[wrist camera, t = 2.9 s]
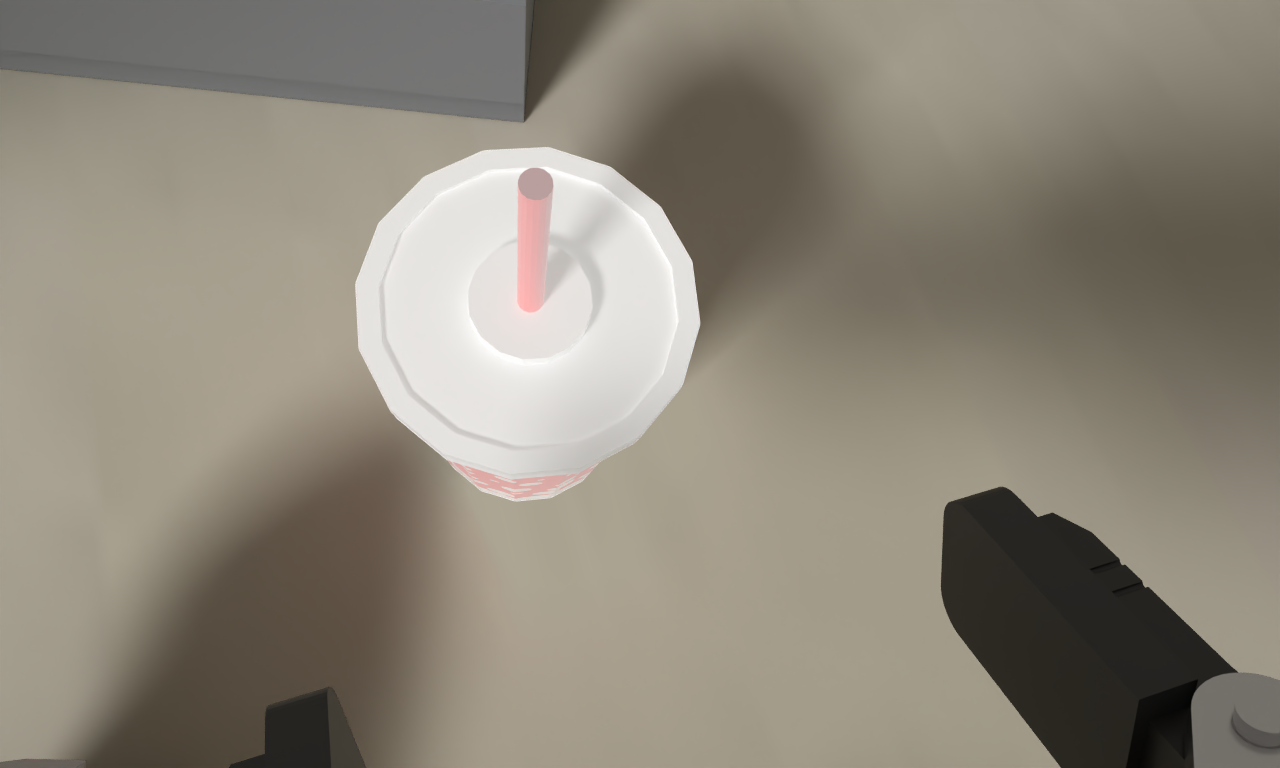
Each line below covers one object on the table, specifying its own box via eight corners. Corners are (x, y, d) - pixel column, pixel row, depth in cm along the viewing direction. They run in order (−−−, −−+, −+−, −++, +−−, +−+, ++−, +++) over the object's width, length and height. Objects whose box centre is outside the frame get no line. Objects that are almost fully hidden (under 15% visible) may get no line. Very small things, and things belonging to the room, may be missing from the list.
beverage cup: (480, 260, 28) (449, -94, 15) (682, 368, 28) (836, 110, 15) (358, 459, 27) (200, 265, 13) (573, 575, 27) (634, 497, 13)
